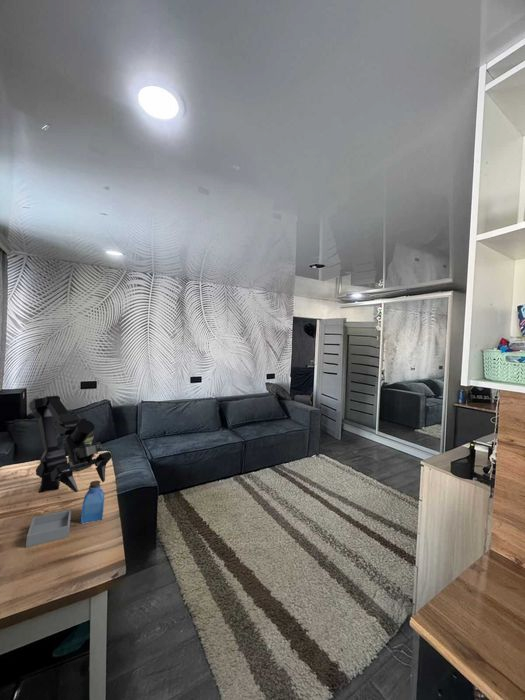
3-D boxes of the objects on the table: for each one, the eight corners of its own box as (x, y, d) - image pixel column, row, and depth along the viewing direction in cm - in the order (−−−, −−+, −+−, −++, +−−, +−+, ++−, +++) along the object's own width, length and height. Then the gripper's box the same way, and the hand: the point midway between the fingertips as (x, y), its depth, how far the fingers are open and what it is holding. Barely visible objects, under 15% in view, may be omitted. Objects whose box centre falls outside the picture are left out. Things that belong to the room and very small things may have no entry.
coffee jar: (84, 462, 138) (87, 426, 138) (94, 466, 134) (97, 429, 135) (64, 469, 129) (67, 430, 129) (74, 473, 125) (77, 433, 126)
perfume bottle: (80, 524, 91) (83, 488, 91) (83, 513, 96) (85, 480, 97) (102, 519, 94) (104, 485, 94) (103, 510, 99) (105, 477, 99)
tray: (32, 527, 87) (33, 517, 88) (70, 519, 93) (71, 509, 93) (25, 547, 79) (26, 536, 79) (68, 537, 84) (69, 526, 84)
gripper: (57, 442, 92) (70, 484, 86) (111, 431, 108) (126, 466, 102) (44, 460, 95) (57, 501, 90) (98, 446, 111) (112, 481, 106)
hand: (90, 486), depth 97 cm, fingers open, 9 cm apart
